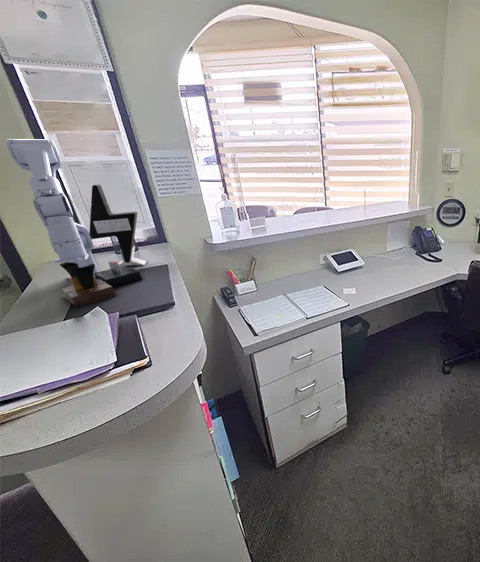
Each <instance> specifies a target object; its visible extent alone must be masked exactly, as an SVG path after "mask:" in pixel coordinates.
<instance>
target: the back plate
mask: <svg viewBox="0 0 480 562" xmlns="http://www.w3.org/2000/svg"><path fill="white" fill-rule="evenodd" d="M119 268H120V270H121V273H118V274H117V273H115V272H112V271H111V268H109V269H105V270H101V271H99V272H96V273H94V275H95V279H96V280H97V279H100V280H101V281H103V282H106V283H107V284H109V285H110V286H112V287H113V288H117V287H121V286H123V285H128V284H132V283H134V282H138V281H139V282H140V281H142V280H143V278H142V274H141V273H140V270H137V269H135V268H133V267H130V266H128V265H124V266H121V267H119Z"/></svg>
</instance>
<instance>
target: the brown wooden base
mask: <svg viewBox="0 0 480 562" xmlns="http://www.w3.org/2000/svg"><path fill="white" fill-rule="evenodd" d="M96 282H97V284H98V285H96V286H94V288H91V289H87V290H85V289H80V290H77V291H76V290H75V289H74V287H73V285H70V286H69V285H68V286H66V287H62V288H60V292H61V293H62V295H63V297H64V299H65V300H67V302H69V303H70V304H72V305H73V306H74V307H75V308H79V307H83V306H87V305H89V304H92V303H97V302H100V301H102V300H107V299H110V298H113V297H116V296H117V295H116V293H115V289H114V287H112V286H110V285H109V284H107V283H106V282H103V281H101V280H100V279H97V280H96Z"/></svg>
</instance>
